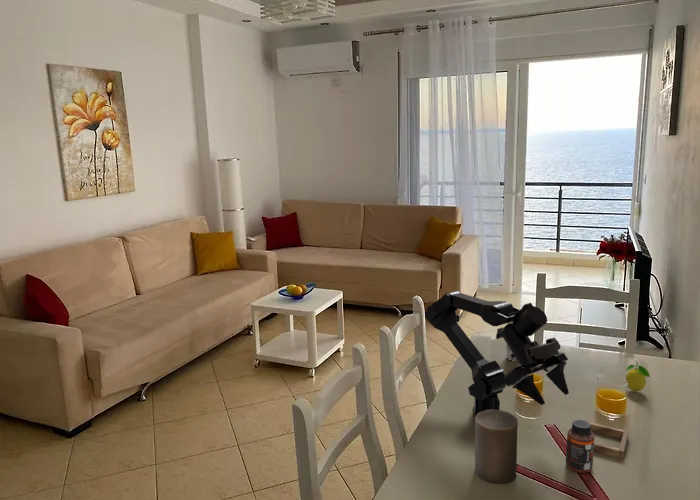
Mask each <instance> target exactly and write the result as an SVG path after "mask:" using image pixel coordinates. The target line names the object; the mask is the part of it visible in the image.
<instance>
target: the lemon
mask: <svg viewBox="0 0 700 500" xmlns="http://www.w3.org/2000/svg"><path fill="white" fill-rule="evenodd" d="M635 363H636V365H635V364H629V366H627V368H626V370H625V371H626V372H627V371H628V372H627V373H626V377H625V381H626V380H627V383H628V387H627V388H628V389H629V390H631V391H632V392H633V393H637V392H641V391H642V390H644V388H645V387H646V383H647V380H646V377H647V378H651V377H650V373H649V371H648V369H646V368H645V366H642V365H639V364H638V362H635Z"/></svg>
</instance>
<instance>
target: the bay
mask: <svg viewBox="0 0 700 500" xmlns="http://www.w3.org/2000/svg"><path fill="white" fill-rule="evenodd" d="M588 423H590V425H591V430H590V431H591V432H592V433H597V434H602V435H606V436H608V437H614V438H618V439H621V441H620V446H619V448H618V447H614V446H610V445H606V444H602V443H598V442H595V441H594V453H596V454H597V453H598V454H602V455H606V456H608V457H611V458H612V457H613V458H618V459H621V460H624V457H625V454H626V453H625V452H626V449H627V444H628V439H629V430H625V429H619V428H616V427H612V426H609V425H604V424H599V423H595V422H591V421H589V422H588Z"/></svg>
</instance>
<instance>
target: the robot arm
mask: <svg viewBox="0 0 700 500" xmlns="http://www.w3.org/2000/svg"><path fill="white" fill-rule="evenodd" d="M458 310H461V311H465V312H467V313H470V314H473V315H476V316H478V317H480V318H481V319H482V320H483V322H485V323H487V324H488V325H490V326H492V327H498V326H502V325H505V326H504V327H503V326H502V327H500V328H497V329H496V335H495V339H496V340H499V339H503V340H504V342H505V343H506V346H507V345H508V346H509V348H510V350H511V351H512V353H513V354H511V355H510V356H511V357H512V359H513V358H516V359H517V361H518V362H517V363H518V364H519V365H518V366H516V367H513V368H512V369H511V370H510V371H508V372H507V373H506V374H505V370H504V369H503V368H502V367H501V366H500V365H499V363H498V362H497V361H496V360H491V361H489V360H487V359H486V358H484V356H483V354H482V353H481V352H480V351H479V350H478V348H477V347H476V346H475V344H474V343H473V342H472V340H471V339H470V337H469V336H468V335H467V333H465V331H464V330H463V328H462V327H461V326H460V324H459V323H458V319H457V313H456V312H457V311H458ZM424 314H425V318H426V320H427V321H428V323H429V324H430V325H431V326H432V327H433V328H434V329H436V330H439V331H440V332H442V333H443V334H444V335H445V336H446V338H447V339H448V340H449V341H450V343H451V344H452V346H453V347H454V348H455V350H456V351H457V353H458V354H459V355H460V357H461V358H462V359H463V360H464V362H465V363H466V364H467V365H468V367H469V369H470V371H471V375H472V376H471V378H472V381H473V383H472V384H471V385H469V386H468V388H467V389H468V393H469V396H472V397H473V407H472V409H473V415H474V418H475V417H476V415H477V414H478V413H479V412H482V411H485V410H490V409H492V410H501V409H500V398H499V396H498V395H499V394H502V393H503V391H504V389H505V388H506V386H507V387H508V388H509V387H512V389H517V391H519V392H521V393H523V394H525V395H526V396H527V397H529V398H530V399H532V400H533V401H535V402H537V403H538V404H539V405H540V406H544V405H546V402H545V399H544V398H543V396H542V394H541V392H540V390H539V389H538V387H537V385H536V384H535V380H534V379H535V378H534V374H535V373H538V372H541V371H544V372H546V373H545V376H546V377H547V378H548V379H549V380H550V381H551V382H552V383H553V384H554V385H555V386H556V388H558V390H559V391H560V392H562V394H564V395H565V396H566V395H570V394H569V393H570V392H569V391H570V390H569V389H568V385H567V381H566V377H565V373H564V370H565V367H566V365H567V361H568V360H569V358H568V357H567V356H566V354H565V352H562V351H559V350H561V344H560V342H559V341H558V340H557V339H556V337H551V338H548V339H546V340H545V343H543V344H539V343H538V342H537V341H536V340H534V341H532V340H531V339H530V337H531V336H533V335H535V334H536V333H537V332H538V331H539V330H540V329H542V327H544V326H545V325H546V324H547V323H548V317H547V315H546V313H545V312H544V311H543V310H541V308H540V307H537V306H534V305H533V304H532V302H528V303H524V305H523V306H522V307H521V308H518V307H516V306H513V303H511V302H509V301H505V300H504V301H503V300H492V301H489V300H485V299H482V298H478V297H475V296H472V295H468V294H465V293H461V291H457V290H455V291H449V292H445V294H443V296H442V297H441V298H439V299H437V300H436V301H434V302H433V303H432V304H431V305H428V306H427V307H426V309H425V313H424ZM512 321H513V323H512V324H507V323H510V322H512Z"/></svg>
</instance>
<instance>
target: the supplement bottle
mask: <svg viewBox="0 0 700 500" xmlns="http://www.w3.org/2000/svg"><path fill="white" fill-rule="evenodd" d="M590 430H591V425H590V423H589V422H588V421H586V420H582V419H575V420H572V424H571V427H570V428H569V429H568V431H567V432H566V433H567V434H566V449H565V450H566V451H565V452H566V453H565V465H566V466H567V468H568V469H569V470H571V471H573V472H576V473H581V474H586V473H589V472H591V471H592V469H593V464H594V453H595V452H594V442H595V435H594V432H592V431H590Z"/></svg>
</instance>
